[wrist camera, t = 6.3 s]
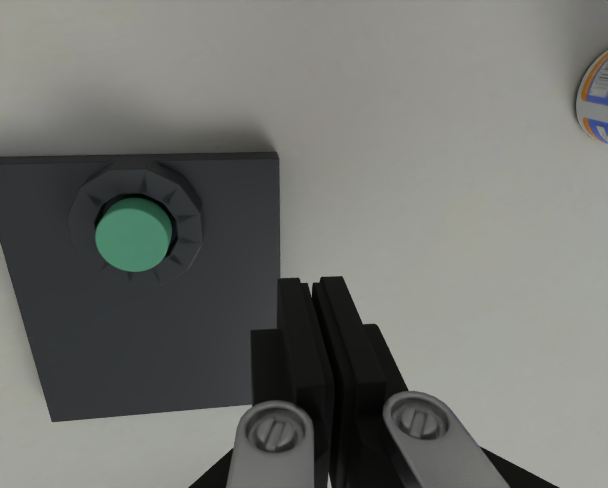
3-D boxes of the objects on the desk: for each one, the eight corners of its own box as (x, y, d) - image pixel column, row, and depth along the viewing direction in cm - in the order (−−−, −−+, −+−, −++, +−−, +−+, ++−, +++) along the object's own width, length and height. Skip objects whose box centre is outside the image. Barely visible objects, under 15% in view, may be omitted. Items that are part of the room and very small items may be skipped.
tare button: (97, 198, 21) (88, 209, 20) (168, 196, 22) (164, 206, 21) (109, 259, 23) (100, 274, 21) (175, 256, 23) (171, 270, 22)
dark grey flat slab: (-9, 155, 23) (-42, 172, 20) (276, 150, 24) (282, 165, 22) (59, 405, 29) (41, 443, 27) (279, 387, 31) (283, 421, 28)
